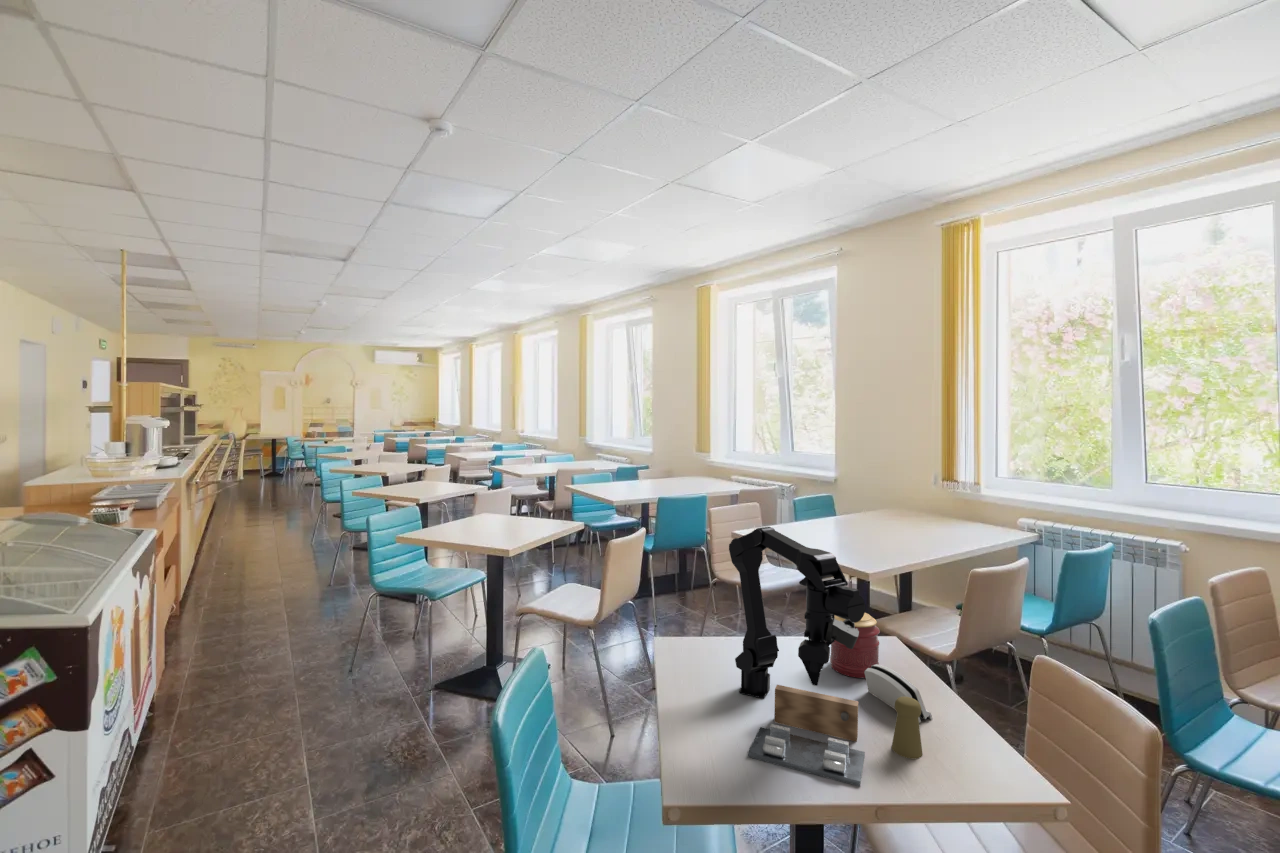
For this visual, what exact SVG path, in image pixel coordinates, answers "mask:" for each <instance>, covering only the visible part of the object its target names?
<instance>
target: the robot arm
mask: <svg viewBox="0 0 1280 853" xmlns="http://www.w3.org/2000/svg"><path fill="white" fill-rule="evenodd" d="M766 549H769V550H770V551H772V552H774V553H776V554H778V555H779V556H781V557H783V558H784V559H786V560H788V561H790V562H791V563H793V564H794V565H795V566H796V569H797V570H798V572H799V573H801V575H803V576H804V577H803V578H802V579H801V580H800V581H799V582H798V583H799V585H800V586H804V587H806V595H805V596H806V599H805V612H804V619H805V629H804V632H803V636H804V638H808V639H804V640H803V641H801V642H800V644H799V646H798V651H797V653H798V654H797V657H798V658H799V659H800V660H801V662H802V665H803V667H804V669H805V671H806V674H807V675H808V677H809V680H810V683H811V685H812V686H817V687H818V685H819V681H820V676H821V671H822V670H823V668H824V666H825V665H826V664H828V663H829V661H830V656H831V644H832V643H833V642H834V641H837V642H839V643H841V644H843V645H845V646H846V647H847V648H849V649H853V647H854V645H855V643H856V641H857V638H858V636H859V631H858V629H857V628H856V629H855V623H856V622H859V621H860V620H861V619H862V617H863V616H864V613H866V603H865V600H864V598H863V597H862V596H861V595H860V590H859V589H857V588H853V587H848V584H849V583H848V581H847V578H846V576H845V575H844V573H843V571H842V568H841V567H840V565H839V563H838V561H837V557H836V556H835V554H833V553H832V552H830V551H826V550H823V549H818V548H812V547H808V546H805V545H804V544H802V543H799V542H798V541H796V540H794V539H792V538H789V537H788V536H787V535H784V534H782V533H781V532H779V531H777V530H775V528H774V527H771V526H765V527H757V528H756V529H754V530H753V531H751V532H748V533H747V534H744V535H741V536H740V537H736V538H733V539H731V541H730V543H729V544H728V552H729V555H730V559H731V563H732V565H733V566H734V567H735V568H736V570H737V571H738V573H739V580H740V587H741V594H742V600H743V607H744V608H743V609H744V615H745V623H746V632H745V634H744V637H743V640H742V652H741V653H740V654H738V655H737V656H736V657H735V658H734V661H735V667H736V668H737V669H739V670H740V673H741V674H740V676H741V677H740V678H741V679H740V682H741V683H740V689H739V690H738V693H739V694H741V695H747V696H751V697H755V698H761V699H765V698H766V695H768V693H769V692H770V689H771V685H770V684H771V674H770V673H769V668H773V667H774V665H775V661H776V660H777V659H778V656H779V655H778V654H779V653H778V652H780V650H779V646H778V639H777V638H778V637H777V636H776V634H772V633H771V632H770V630H769V629H768V627H767V621H766V614H765V607H764V601H763V600H764V599H763V593H762V585H761V578H760V573H759V572H760V571H759V570H760V569H761V565H762V563H763V558H764V557H763V552H764V551H765V550H766ZM826 579H827V580H826ZM835 616H838V617H840V618H843V619H846V620H844V621H843V622H842V621H841V620H840V621H838V620H836V619H835Z"/></svg>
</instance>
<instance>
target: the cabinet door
mask: <svg viewBox="0 0 1280 853" xmlns="http://www.w3.org/2000/svg"><path fill="white" fill-rule="evenodd" d="M773 715H774V717H773V719H774V722H773V723H775V724H779V725H784V726H788V727H793V728H796V729H800V730H805V731H809V732H813V733H816V734H817V733H818V734H822V735H827V736H830V737H835V738H837V739H838V738H839V739H841V740H842V739H843V740H848V741H852V742H857V741H858V737H859V701H857V700H854V699H849V698H844V697H838V696H833V695H829V694H825V693H820V692H814V691H809V690H806V689H799V688H796V687H795V688H794V687H790V686H787V685H782V684H776V686H775V688H774V714H773Z"/></svg>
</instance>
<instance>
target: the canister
mask: <svg viewBox="0 0 1280 853" xmlns="http://www.w3.org/2000/svg"><path fill="white" fill-rule="evenodd" d="M835 619H836V620H838V621H840V620H841V621H842V622H843V621H844V620H846V619H843V618H840V617H838V616H835ZM856 628H857V629H858V631H859V636H858V638H857V641H856V643H855V645H854V647H853V649H849V648H847V647H846V646H845V645H843V644H841V643H839V642H837V641H834V642H833V643H832V644H831V645H830V658H829V661H830V667H831V668H832V669H833V670H834V671H835V672H836V673H839V674H841V675H844V676H846V677H850V678H855V679H856V678H858V679H866V678H865V673H864V672H865V670H866V669H867V668H871V666H872V665H876V664H878V665H880V663H879V656H880V655H879V651H880V650H879V646H880V641H879V638H878V637H879V636H878V635H879V634H880V632H881V630H880V628H879V627H878V626H877V620H876V619H875V618H874V617H873V616H871V615H870V614H869V613H867V612H865V613H864V616H863V617H862V619H861V620H860V621H859V622H856V623H855V629H856Z"/></svg>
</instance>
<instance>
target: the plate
mask: <svg viewBox="0 0 1280 853" xmlns="http://www.w3.org/2000/svg"><path fill="white" fill-rule="evenodd" d="M770 724H771V725H770V728H767V727H763V726H760V727H759V729H758V731H757V732H756V735H755V737H754V739H753V741H752V742H751V744H750V746H749V749H748V751H747V758H750V759H751V758H752V759H755V760H758V761H762V762H765V763H770V764H774V765H778V766H781V767H785V768H789V769H793V770H795V771H800V772H804V773H807V774H811V775H815V776H818V777H822V778H827V779H831V780H833V781H834V780H835V781H839V782H842V783H846V784H850V785H853V786H857V787H861V783H862V778H863V777H862V776H863V770H864V765H865V757H866V756H865V754H866V752H865V751H863V750H859V749H854V748H850V747H849V744H850V743H849V741H845V740H842V739H838V738H837V739H836V738H833V737H828V738H827V742H826V741H821V740H816V739H812V738H809V737H805V736H800V735H796V734H791V728H790V727H786V726H781V725H778V724H773V723H770Z"/></svg>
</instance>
